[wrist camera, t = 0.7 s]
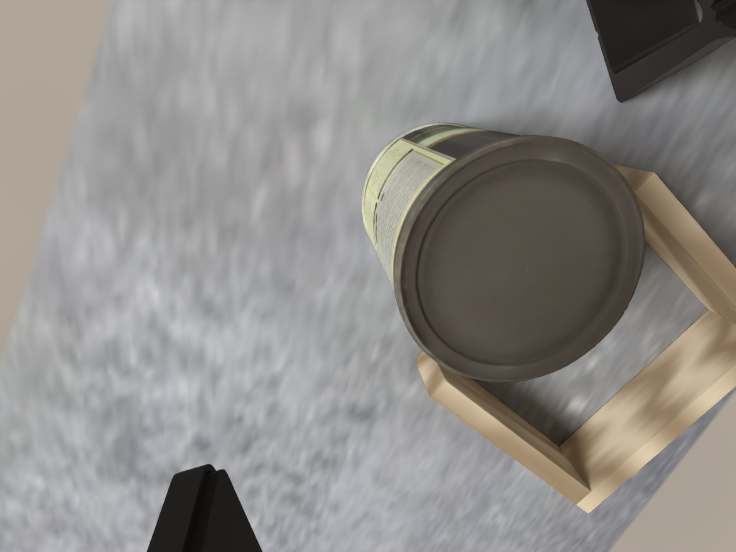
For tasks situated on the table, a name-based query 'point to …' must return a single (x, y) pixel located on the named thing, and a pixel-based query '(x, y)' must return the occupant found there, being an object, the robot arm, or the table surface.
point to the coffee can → (503, 247)
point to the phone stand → (657, 37)
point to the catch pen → (644, 392)
